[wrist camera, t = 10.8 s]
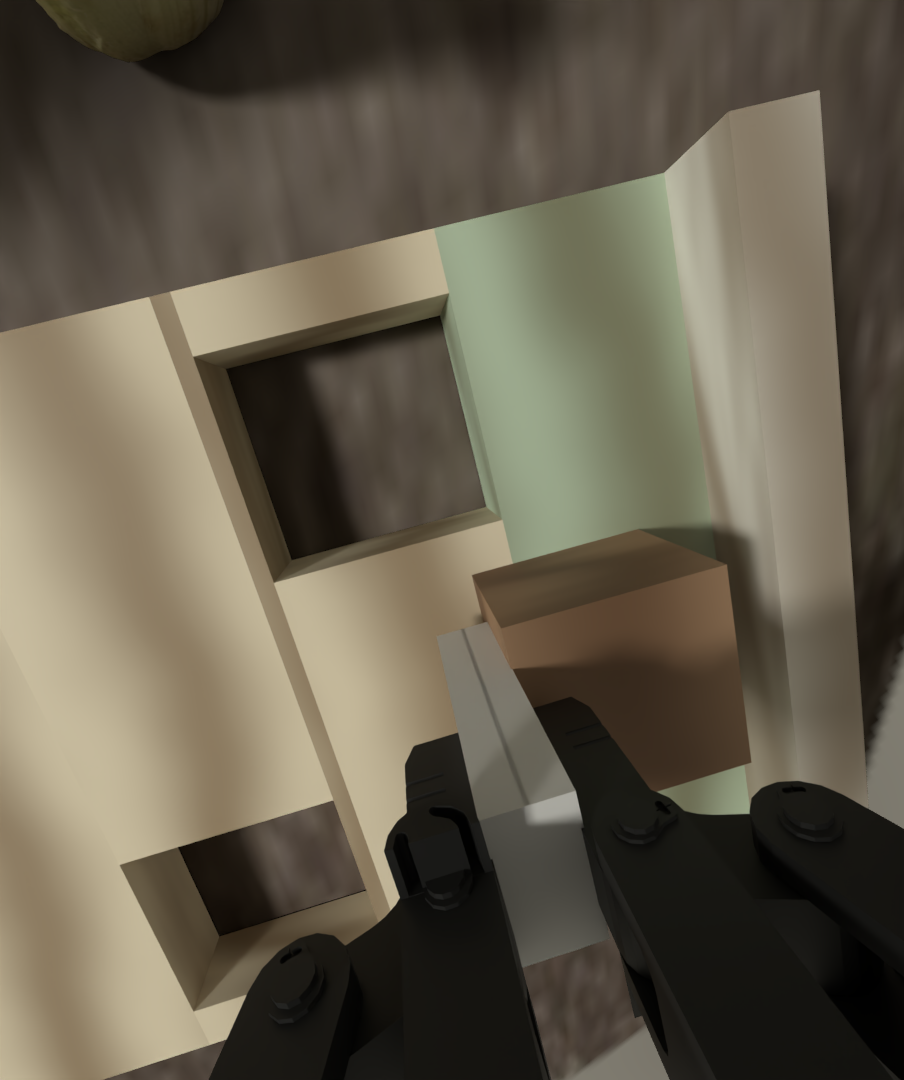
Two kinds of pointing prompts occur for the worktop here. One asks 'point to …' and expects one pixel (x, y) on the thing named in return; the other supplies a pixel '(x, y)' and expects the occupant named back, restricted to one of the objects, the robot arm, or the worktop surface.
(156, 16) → the fennel bulb
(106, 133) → the worktop surface
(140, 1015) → the board
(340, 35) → the worktop surface
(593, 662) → the block
